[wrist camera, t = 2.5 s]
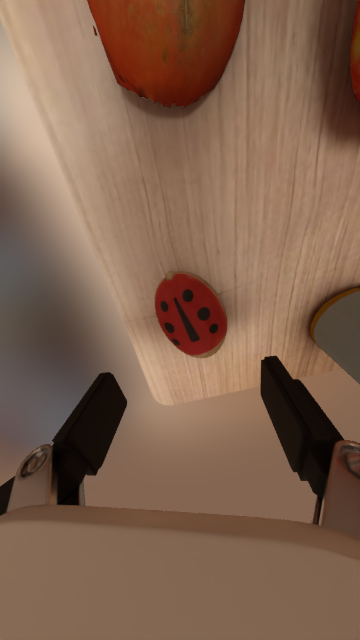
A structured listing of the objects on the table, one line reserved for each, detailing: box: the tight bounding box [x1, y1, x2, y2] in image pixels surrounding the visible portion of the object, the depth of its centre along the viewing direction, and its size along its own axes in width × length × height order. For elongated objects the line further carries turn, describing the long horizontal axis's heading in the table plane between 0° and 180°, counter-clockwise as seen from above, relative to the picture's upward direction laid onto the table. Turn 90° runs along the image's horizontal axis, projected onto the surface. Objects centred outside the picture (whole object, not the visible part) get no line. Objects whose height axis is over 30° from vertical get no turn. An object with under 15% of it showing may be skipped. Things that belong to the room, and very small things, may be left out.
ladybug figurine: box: [155, 272, 227, 358], centre depth 15 cm, size 7×10×4 cm
